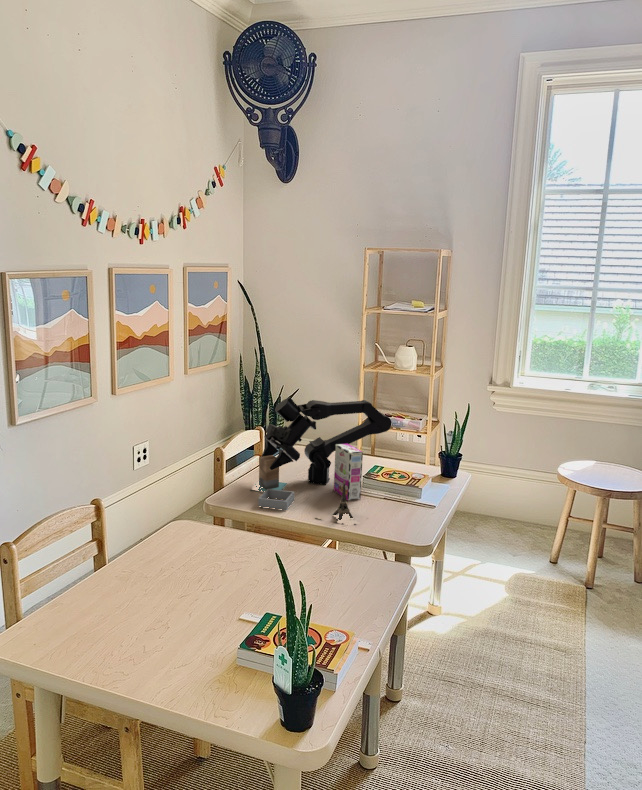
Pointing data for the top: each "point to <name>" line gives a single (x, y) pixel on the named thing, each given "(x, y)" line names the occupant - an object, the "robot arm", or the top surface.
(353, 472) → the candy bar box
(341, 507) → the eiffel tower figurine
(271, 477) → the block
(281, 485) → the mat
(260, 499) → the crate
